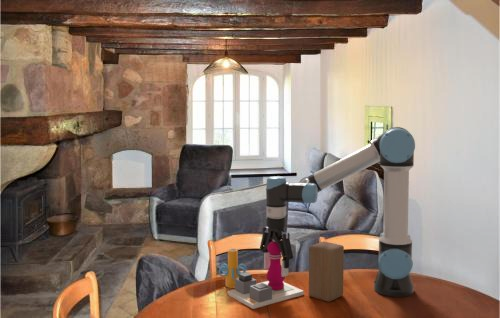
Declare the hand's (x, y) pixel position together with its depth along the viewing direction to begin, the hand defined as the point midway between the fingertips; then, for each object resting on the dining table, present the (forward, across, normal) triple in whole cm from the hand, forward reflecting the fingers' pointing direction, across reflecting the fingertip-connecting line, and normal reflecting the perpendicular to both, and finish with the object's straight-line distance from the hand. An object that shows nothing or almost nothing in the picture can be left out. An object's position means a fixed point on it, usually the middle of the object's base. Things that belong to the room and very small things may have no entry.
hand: (275, 272), depth 200 cm
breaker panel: (+8, 0, -5) cm, 9 cm away
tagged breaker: (+6, +5, -11) cm, 14 cm away
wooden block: (+8, +14, +13) cm, 21 cm away
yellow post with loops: (+8, -16, -10) cm, 20 cm away
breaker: (+5, -5, -11) cm, 13 cm away
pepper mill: (+6, 0, 0) cm, 6 cm away
